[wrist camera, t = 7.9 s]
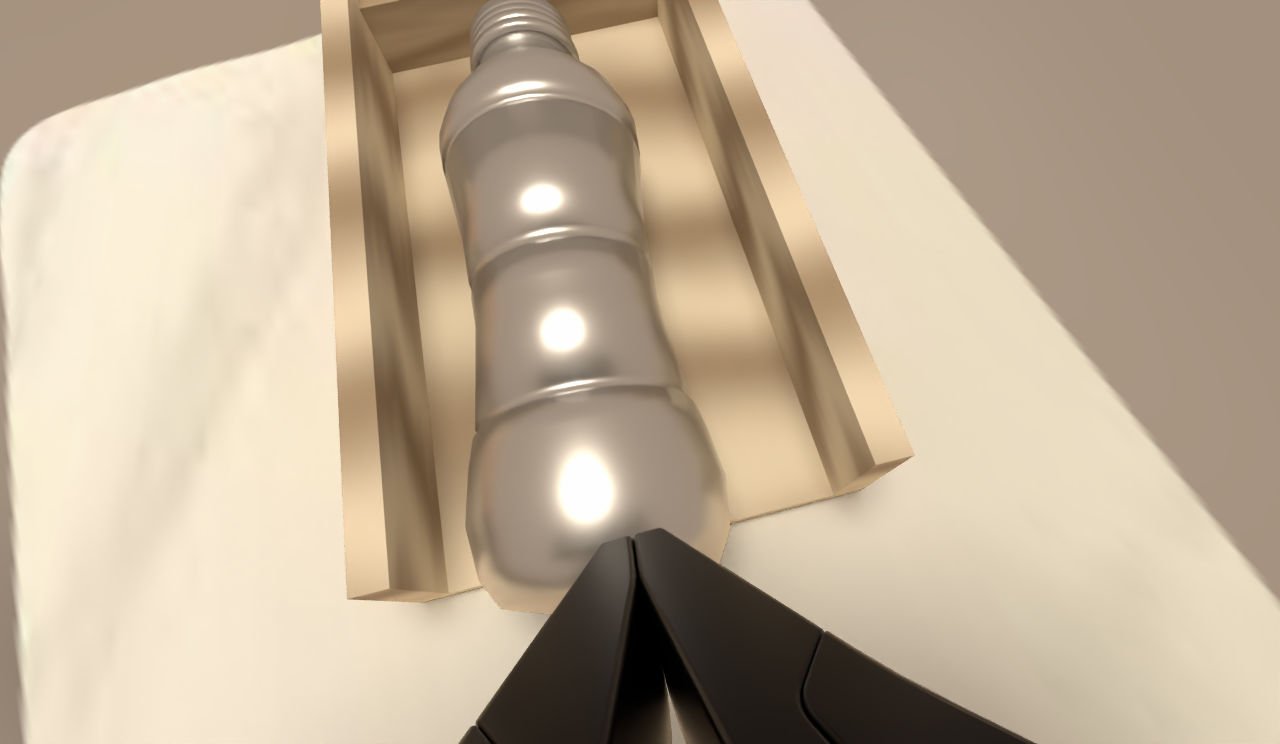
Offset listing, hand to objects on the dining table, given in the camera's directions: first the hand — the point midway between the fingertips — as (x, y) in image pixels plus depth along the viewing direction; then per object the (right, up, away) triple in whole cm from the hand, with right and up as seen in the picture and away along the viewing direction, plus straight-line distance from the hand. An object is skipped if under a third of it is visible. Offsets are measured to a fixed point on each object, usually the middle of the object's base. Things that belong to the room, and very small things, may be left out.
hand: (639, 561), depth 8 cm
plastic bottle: (0, -3, +6) cm, 7 cm away
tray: (-3, +7, +15) cm, 17 cm away
